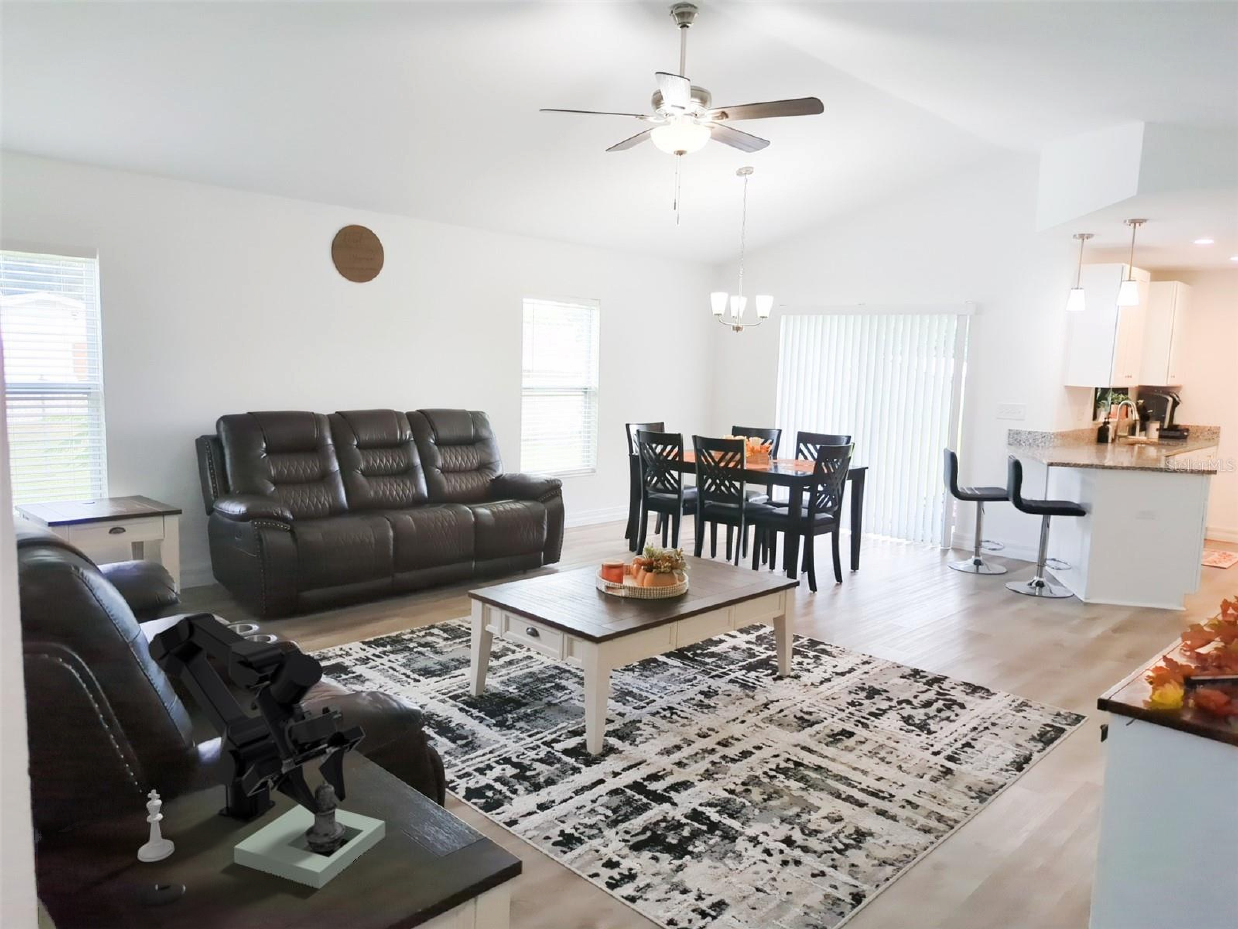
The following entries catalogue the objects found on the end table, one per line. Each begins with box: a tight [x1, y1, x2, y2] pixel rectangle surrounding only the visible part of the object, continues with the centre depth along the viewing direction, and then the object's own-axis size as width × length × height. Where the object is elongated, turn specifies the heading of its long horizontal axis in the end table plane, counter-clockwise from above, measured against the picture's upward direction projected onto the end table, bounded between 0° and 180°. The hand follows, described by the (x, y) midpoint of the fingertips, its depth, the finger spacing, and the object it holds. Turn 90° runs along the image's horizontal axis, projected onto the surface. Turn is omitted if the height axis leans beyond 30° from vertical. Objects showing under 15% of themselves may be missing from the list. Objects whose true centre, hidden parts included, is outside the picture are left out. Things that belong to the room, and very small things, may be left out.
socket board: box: [233, 803, 386, 890], centre depth 131 cm, size 16×15×2 cm
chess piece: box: [137, 789, 175, 863], centre depth 129 cm, size 5×5×10 cm
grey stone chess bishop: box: [305, 778, 345, 858], centre depth 130 cm, size 6×6×12 cm
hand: (330, 806), depth 129 cm, fingers open, 4 cm apart
